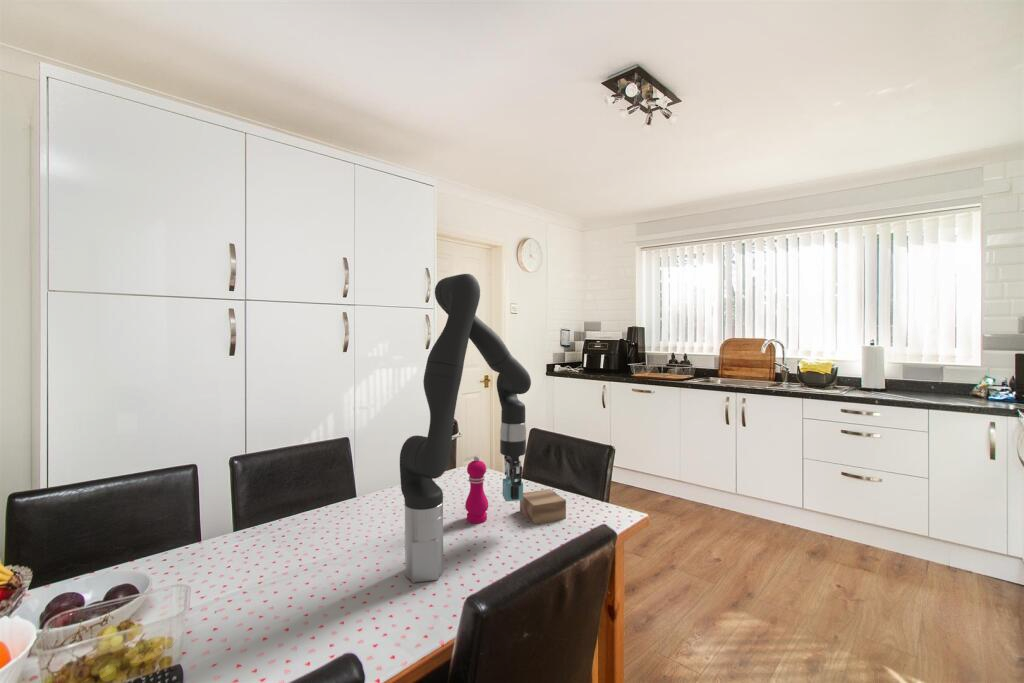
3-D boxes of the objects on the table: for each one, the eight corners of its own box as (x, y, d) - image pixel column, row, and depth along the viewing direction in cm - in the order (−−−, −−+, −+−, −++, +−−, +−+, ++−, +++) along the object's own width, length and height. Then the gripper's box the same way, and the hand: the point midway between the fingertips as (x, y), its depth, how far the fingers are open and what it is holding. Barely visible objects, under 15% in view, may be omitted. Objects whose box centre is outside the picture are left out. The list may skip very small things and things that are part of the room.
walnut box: (565, 519, 145) (565, 500, 145) (533, 524, 141) (533, 505, 141) (550, 506, 155) (550, 489, 155) (519, 511, 151) (519, 493, 151)
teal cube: (522, 500, 133) (523, 483, 133) (505, 501, 132) (506, 484, 132) (519, 494, 138) (519, 477, 138) (502, 495, 137) (502, 478, 137)
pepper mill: (490, 515, 148) (489, 453, 147) (486, 524, 140) (486, 459, 140) (467, 514, 148) (467, 452, 148) (463, 523, 141) (462, 458, 140)
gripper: (531, 442, 128) (531, 503, 129) (520, 432, 142) (519, 487, 143) (505, 443, 127) (504, 505, 127) (496, 432, 141) (495, 488, 141)
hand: (512, 495), depth 135 cm, fingers closed on teal cube, 5 cm apart
